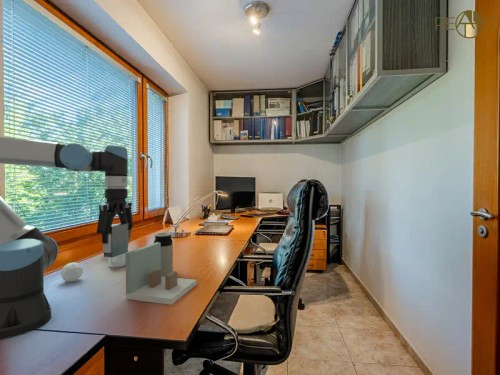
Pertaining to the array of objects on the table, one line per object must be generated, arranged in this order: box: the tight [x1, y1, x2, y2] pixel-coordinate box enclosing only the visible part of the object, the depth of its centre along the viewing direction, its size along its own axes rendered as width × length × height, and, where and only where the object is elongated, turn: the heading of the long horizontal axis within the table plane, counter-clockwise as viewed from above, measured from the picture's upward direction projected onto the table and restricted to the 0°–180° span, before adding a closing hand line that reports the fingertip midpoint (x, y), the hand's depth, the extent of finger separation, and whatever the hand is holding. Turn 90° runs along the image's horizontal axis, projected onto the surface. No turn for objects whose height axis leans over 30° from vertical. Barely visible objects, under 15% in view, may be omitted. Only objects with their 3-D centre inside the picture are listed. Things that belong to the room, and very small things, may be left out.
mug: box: [107, 253, 126, 269], centre depth 129 cm, size 12×8×10 cm
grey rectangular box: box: [103, 222, 129, 258], centre depth 98 cm, size 8×4×11 cm, turn 165°
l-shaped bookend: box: [125, 242, 197, 306], centre depth 99 cm, size 18×18×16 cm
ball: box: [60, 261, 84, 283], centre depth 110 cm, size 8×8×8 cm
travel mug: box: [153, 232, 174, 277], centre depth 118 cm, size 8×8×18 cm
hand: (116, 249), depth 98 cm, fingers closed on grey rectangular box, 8 cm apart
